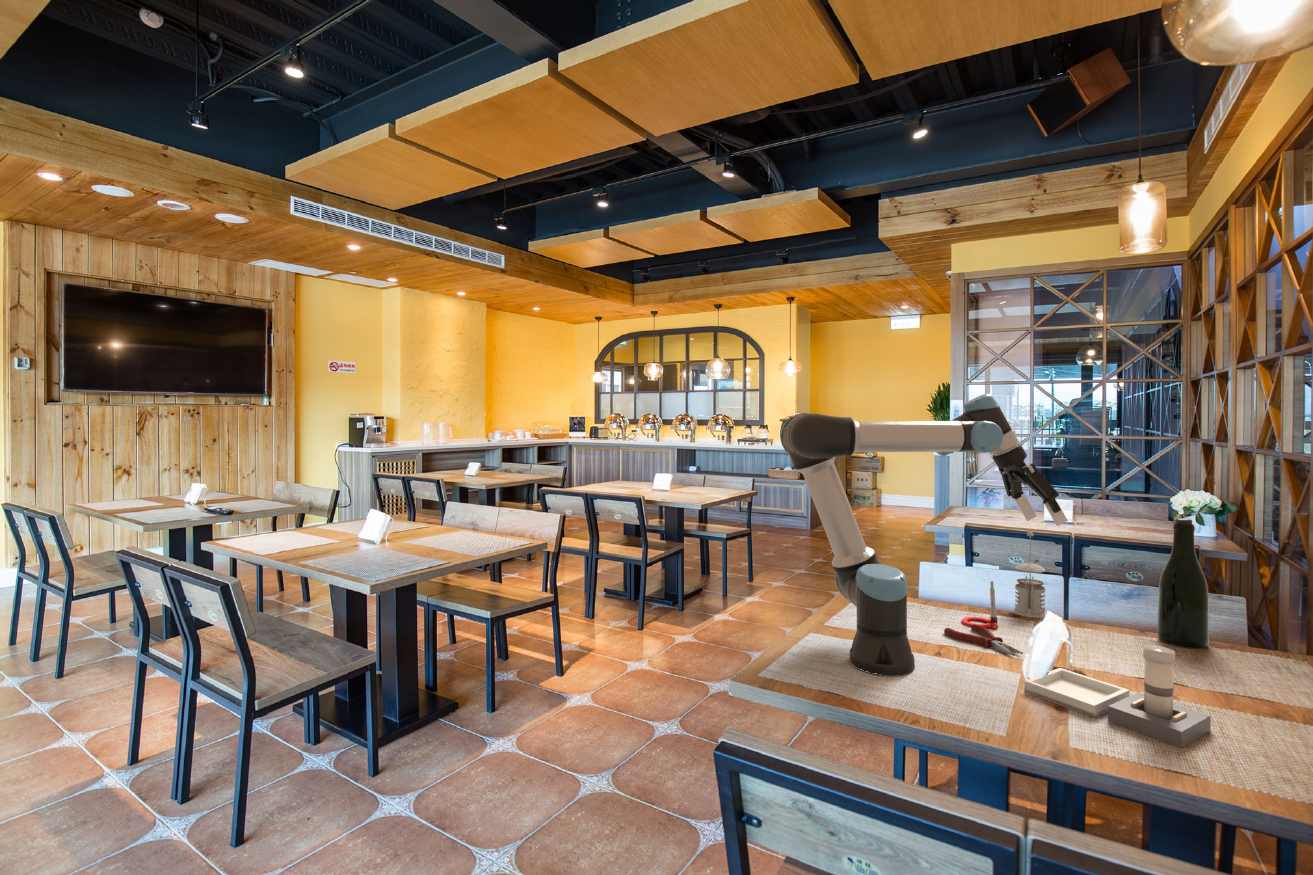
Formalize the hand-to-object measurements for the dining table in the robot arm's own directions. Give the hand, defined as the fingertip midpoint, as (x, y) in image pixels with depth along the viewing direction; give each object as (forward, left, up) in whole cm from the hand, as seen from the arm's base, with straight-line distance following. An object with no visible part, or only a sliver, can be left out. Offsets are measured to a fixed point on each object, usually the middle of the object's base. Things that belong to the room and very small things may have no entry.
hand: (1046, 520), depth 165 cm
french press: (+23, +18, -33) cm, 44 cm away
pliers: (-13, +10, -34) cm, 38 cm away
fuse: (-26, -35, -33) cm, 55 cm away
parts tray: (-26, -20, -33) cm, 46 cm away
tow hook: (+1, +20, -33) cm, 39 cm away
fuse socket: (-26, -35, -33) cm, 55 cm away
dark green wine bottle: (+32, -17, -33) cm, 50 cm away
